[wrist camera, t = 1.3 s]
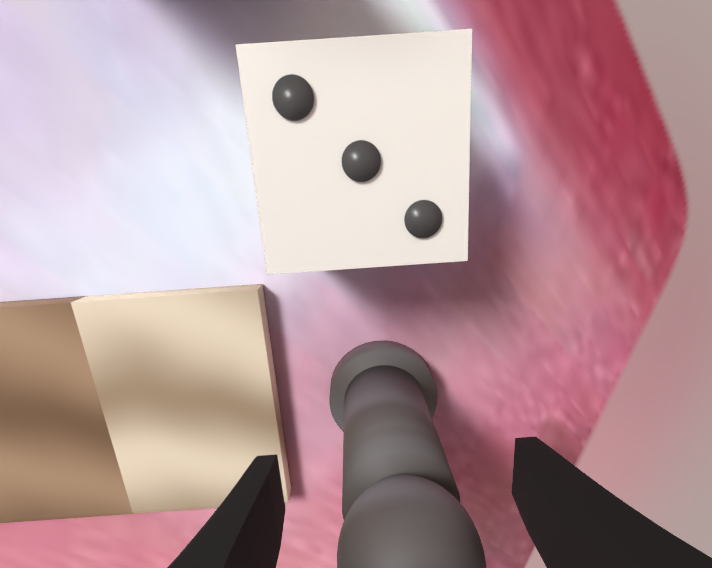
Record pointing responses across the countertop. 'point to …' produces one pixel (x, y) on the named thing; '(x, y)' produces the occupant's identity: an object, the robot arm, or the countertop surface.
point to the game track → (134, 402)
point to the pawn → (396, 466)
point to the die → (360, 149)
